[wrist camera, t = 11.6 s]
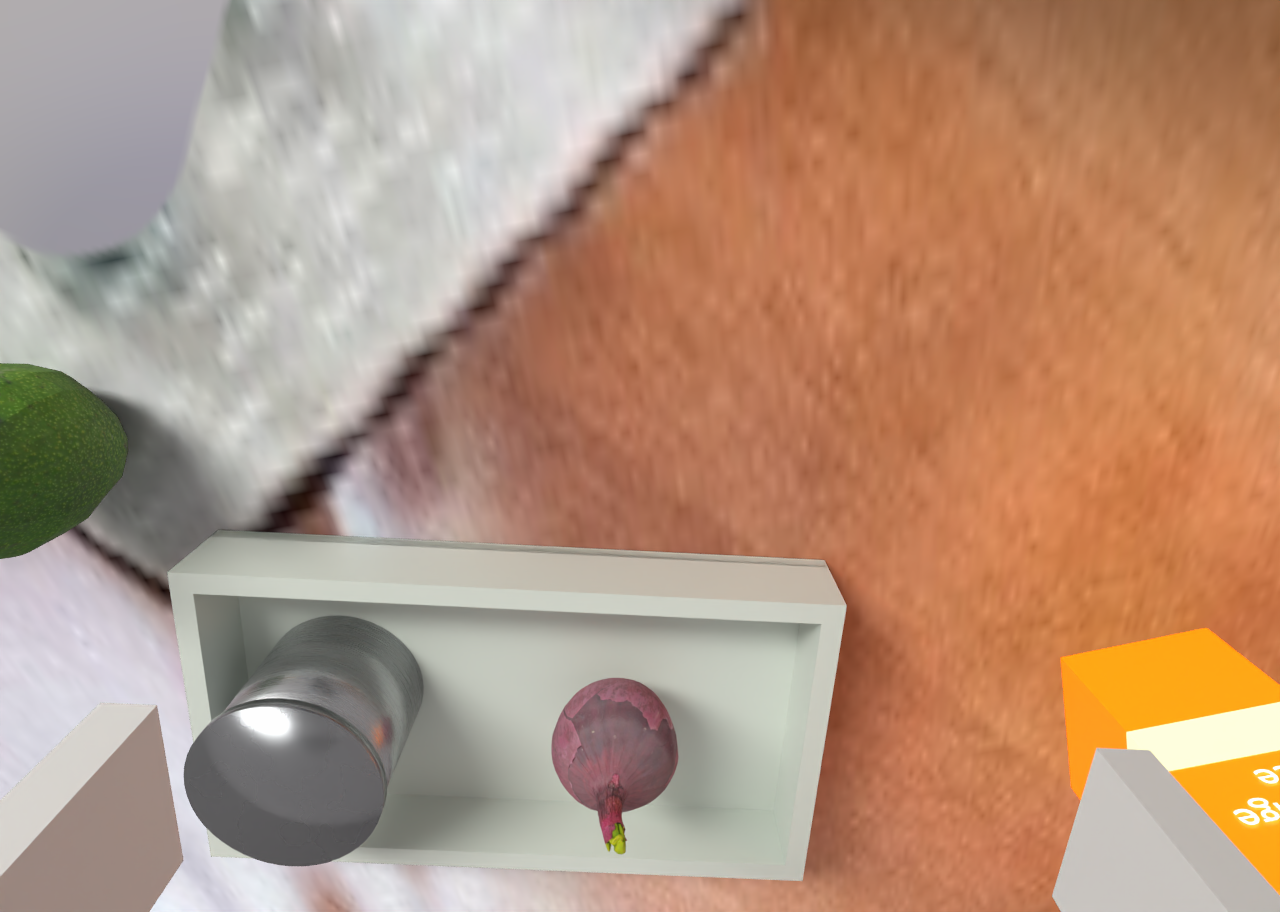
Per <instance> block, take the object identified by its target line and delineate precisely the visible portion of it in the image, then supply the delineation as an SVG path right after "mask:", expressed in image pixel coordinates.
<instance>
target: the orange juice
mask: <svg viewBox="0 0 1280 912" xmlns="http://www.w3.org/2000/svg"><path fill="white" fill-rule="evenodd" d="M1061 669H1062V682H1063V694H1064V707H1065V719H1066V731H1067V744H1068V756H1069V768H1070V781H1071V788H1072V789H1073V791H1074V792H1075V793H1076V795H1077V796H1078V798H1079V799H1080V800H1081V798H1082V794H1083V791H1084V787H1085V784H1086V781H1087V777H1088V774H1089V771H1090V767H1091V764H1092V761H1093V757H1094V754H1095V751H1096V748H1114V749H1136V750H1150V751H1151V752H1152V753H1153V754H1154V755H1155V757H1156V758H1157V759H1158V760H1159V761H1160V762H1161V763H1162V764H1163V765H1164V767H1165V768H1166V769H1167V770H1168V771H1169V772H1170V773H1171V774H1172V776H1173V777H1174V778H1175V779H1176V780H1177V781H1178V782H1179V783H1180V784H1181V786H1182V787H1183V788H1184V789H1185V790H1186V791H1187V792H1188V793H1189V794H1190V796H1191V797H1192V798H1193V799H1194V800H1195V801H1196V802H1197V803H1198V805H1199V806H1200V807H1201V808H1202V809H1203V810H1204V811H1205V812H1206V813H1207V815H1208V816H1209V817H1210V818H1211V819H1212V820H1213V821H1214V822H1215V823H1216V825H1217V826H1218V827H1219V828H1220V829H1221V830H1222V831H1223V832H1224V834H1225V835H1226V836H1227V837H1228V838H1229V839H1230V840H1231V841H1232V842H1233V844H1234V845H1235V846H1236V847H1237V848H1238V849H1239V850H1240V851H1241V852H1242V854H1243V855H1244V856H1245V857H1246V858H1247V859H1248V860H1249V861H1250V863H1251V864H1252V865H1253V866H1254V867H1255V868H1256V869H1257V870H1258V871H1259V873H1260V874H1261V875H1262V876H1263V877H1264V878H1265V879H1266V880H1267V881H1268V883H1269V884H1270V885H1271V886H1272V887H1273V888H1274V889H1275V890H1276V892H1277V893H1278V894H1279V895H1280V685H1279V684H1278V683H1276V682H1275V681H1274V680H1272V679H1271V678H1270V677H1269V676H1267V675H1266V674H1265V673H1264V672H1262V671H1261V670H1260V669H1258V668H1257V667H1256V666H1255V665H1253V664H1252V663H1251V662H1250V661H1248V660H1247V659H1246V658H1244V657H1243V656H1242V655H1241V654H1239V653H1238V652H1237V651H1236V650H1234V649H1233V648H1232V647H1230V646H1229V645H1228V644H1227V643H1225V642H1224V641H1223V640H1222V639H1220V638H1219V637H1218V636H1217V635H1215V634H1214V633H1213V632H1211V631H1210V630H1209V629H1208V628H1203V629H1198V630H1193V631H1188V632H1183V633H1178V634H1174V635H1169V636H1164V637H1159V638H1154V639H1149V640H1144V641H1139V642H1134V643H1129V644H1124V645H1120V646H1115V647H1110V648H1105V649H1100V650H1095V651H1090V652H1085V653H1080V654H1075V655H1070V656H1066V657H1061Z"/></svg>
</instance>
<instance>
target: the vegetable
mask: <svg viewBox="0 0 1280 912" xmlns="http://www.w3.org/2000/svg"><path fill="white" fill-rule="evenodd" d="M551 754H552V761H553V765H554V768H555V771H556V773H557V775H558V777H559V780H560V782H561V783H562V785H563V786H564V788H565V789H566V790H567V791H568V793H569V794H570V795H571V796H572V797H573V798H574V799H575V800H576V801H578V802H579V803H581V804H582V805H584V806H586V807H587V808H589V809H592V810H596V811H598V817H599V823H600V827H601V830H602V834H603V838H604V842H605V845H606V848H607V850H608V852H610V849H611V844H612V845H613V846H614V851H615V852H616V853H617V854H624V853H625V852H626V842H625V841H627V839H626V838H625V835H624V833H625V827H624V824H623V822H622V812H627V811H631V810H634V809H637V808H640V807H643V806H645V805H647V804H649V803H650V802H652V801H653V800H655V799H656V798H657V797H658V796H659V795H660V794H661V793H662V792H663V791H664V790H665V789H666V787H667V786H668V784H669V783H670V781H671V779H672V777H673V775H674V773H675V770H676V767H677V764H678V746H677V737H676V732H675V729H674V726H673V723H672V720H671V718H670V716H669V713H668V711H667V709H666V707H665V706H664V704H663V703H662V701H661V700H660V699H659V697H658V696H657V695H656V694H655V693H654V692H653V691H652V690H651V689H649V688H648V687H647V686H646V685H644V684H642V683H640V682H637V681H635V680H631V679H626V678H607V679H602V680H599V681H596V682H593V683H591V684H589V685H587V686H585V687H584V688H582V689H581V690H579V691H578V692H577V693H576V694H575V695H574V696H573V697H572V698H571V699H570V701H569V702H568V703H567V704H566V705H565V707H564V709H563V710H562V712H561V714H560V716H559V718H558V721H557V724H556V726H555V729H554V732H553V736H552V744H551Z"/></svg>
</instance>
